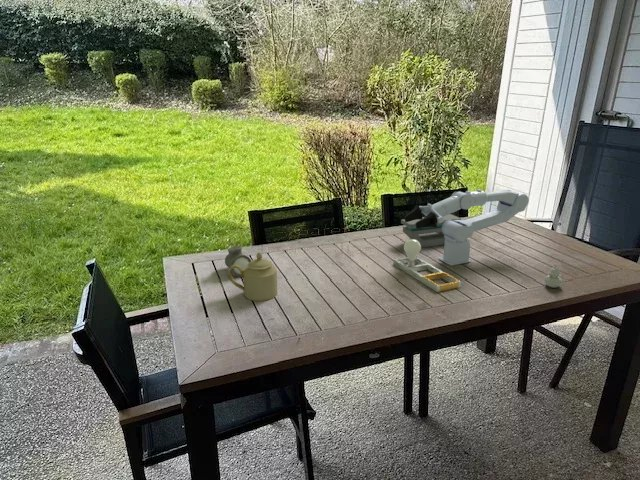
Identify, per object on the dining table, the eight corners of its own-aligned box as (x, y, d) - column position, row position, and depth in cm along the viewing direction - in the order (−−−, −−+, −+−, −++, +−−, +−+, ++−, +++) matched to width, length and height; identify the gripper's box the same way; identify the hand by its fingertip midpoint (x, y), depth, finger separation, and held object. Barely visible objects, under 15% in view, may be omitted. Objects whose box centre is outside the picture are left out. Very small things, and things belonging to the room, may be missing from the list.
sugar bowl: (241, 307, 140) (238, 263, 135) (228, 294, 149) (225, 252, 144) (283, 296, 148) (281, 253, 143) (269, 284, 157) (266, 244, 152)
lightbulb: (419, 270, 167) (421, 242, 163) (402, 269, 168) (404, 241, 164) (419, 264, 173) (421, 237, 169) (403, 263, 174) (404, 236, 170)
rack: (414, 260, 176) (415, 255, 176) (460, 287, 152) (461, 281, 152) (393, 264, 173) (393, 259, 172) (437, 292, 149) (437, 286, 148)
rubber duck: (539, 285, 153) (543, 264, 150) (550, 281, 156) (554, 260, 154) (555, 291, 148) (559, 269, 146) (566, 286, 152) (570, 264, 149)
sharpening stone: (448, 236, 204) (450, 213, 200) (458, 242, 197) (461, 218, 193) (399, 243, 196) (401, 219, 193) (408, 249, 189) (410, 224, 186)
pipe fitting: (254, 273, 165) (249, 247, 162) (234, 279, 161) (228, 253, 158) (243, 266, 175) (238, 241, 172) (224, 272, 171) (218, 247, 169)
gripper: (428, 194, 171) (398, 207, 168) (452, 204, 158) (419, 218, 155) (431, 210, 174) (401, 223, 171) (454, 222, 161) (422, 236, 158)
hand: (410, 222), depth 163 cm, fingers open, 7 cm apart
